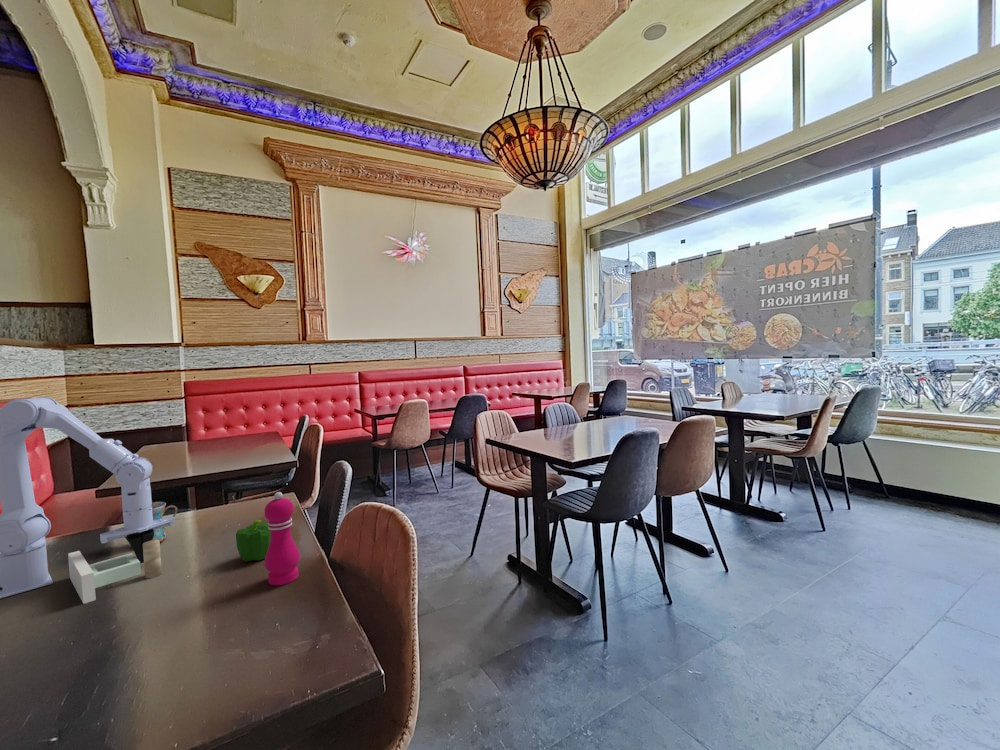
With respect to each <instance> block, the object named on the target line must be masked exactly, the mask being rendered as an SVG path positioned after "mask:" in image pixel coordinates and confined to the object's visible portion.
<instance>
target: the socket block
mask: <svg viewBox="0 0 1000 750" xmlns="http://www.w3.org/2000/svg"><path fill="white" fill-rule="evenodd" d="M88 565H89V566H90V568H91V569H92V571H93V572H94V582H95V589H97V588H98V589H99V588H101V587H104V586H108V585H110V584H113V583H117V582H120V581H124V580H126V579H129V578H133V577H137V576H139V575H140V576H141V575H142V569H141V568H142V567H141V566H142V565H141V564H140V561H139V560H138V559H137V558H136V555H135V554H133V553H132V552H130V553H126V554H123V555H120V556H115V557H113V558H109V559H105V560H101V561H98V562H95V563H91V564H88Z"/></svg>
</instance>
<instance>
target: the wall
mask: <svg viewBox="0 0 1000 750" xmlns="http://www.w3.org/2000/svg"><path fill="white" fill-rule="evenodd" d="M67 556H68V571H69V579H70V580H71V583H72V584H73V587H74V588H75V591H76V592H77V594H78V596H79V599H80V600H81V602H82V604H83V605H84V604H88V603H90V602H94V601H97V597H96V588H95V582H94V572H93V571H92V569H91V568H90V566H89V565H90V564H89V563H88V562H87V560H86V559H85V557H84V555H83V554H82V552H81V551H80V550H77V551H73V552H72V551H71V552H69V553H67Z"/></svg>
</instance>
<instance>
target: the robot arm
mask: <svg viewBox="0 0 1000 750" xmlns="http://www.w3.org/2000/svg"><path fill="white" fill-rule="evenodd" d="M37 428H41V429H42V428H43V429H55V430H58V431H59V432H62V433H63V434H64V435H66V436H67V437H69V438H70V439H72V440H73V441H75V442H77V443H79V444H81V445H82V446H83V447H85V448H87V449H88V454H89V458H91V459H92V460H94V461H95V462H96V463H98V464H99V465H100V466H101V467H104V469H106V470H108V471H109V472H110V473H112V474H113V475H114V474H115V475H114V478H115V481H116V482H117V484H118V485H120V486H121V503H122V505H121V507H122V517H123V527H120V528H116V529H113V530H110V531H107V532H104V533H100V534H99V536H100V537H99V539H100V540H99V541H100V543H101V544H107V543H108V542H112V541H114V540H119V539H120V540H121V539H123V538H124V539H125V540H126V541H127V542H128V544H130V545H131V546H130V547H131V549H132V550H133V552H134V556H135V557H136V558H137V559H138V560H139V561H140V565H141V564H144V556H143V543H145V542H147V541H151V540H152V539H153V537H154V532H153V530H155V529H159V528H163V527H165V528H167V527H173V526H175V525H176V519H175V517H173V516H169V517H164V518H163V517H162V519H157V520H153V513H152V502H153V500H152V488H151V479H150V476H151V475H152V474H153V470H154V466H153V464H152V463H151V461H149V459H148V458H146V457H140V456H139V454H137V453H132V452H131V450H129V449H127V448H126V447H124V446H123V445H122V444H123V442H122V441H121V440H119V439H116V440H115V439H114V438H102V437H101V436H100V435H99V434H97V433H96V432H95V431H94V430H92V429H91V428H90V427H89V426H87V424H85V423H84V422H83V421H81V420H80V419H79V418H77V416H76V415H74V414H73V413H71V412H70V410H69V409H68V408H67V407H66V406H65V405H63V404H61V403H58V401H57V400H56V399H54V398H52V397H49V396H38V397H31V398H16V399H12V400H10V401H8V402H6V403H5V404H4V405H3V406H2V407H0V506H1V512H0V513H1V514H0V599H4V598H7V597H10V596H14V595H18V594H22V593H24V592H27V591H32V590H35V589H39V588H43V587H46V586H50V585H52V584H53V583H54V582H53V579H52V577H51V574H50V573H49V566H48V555H47V554H48V553H47V541H46V536H47V535H49V533H50V532H51V528H52V523H51V521H50V519H49V518H48V517H47V516H46V515H45V512H44V508H43V507H42V506H41V505H39V504H38V503H37V502H36V499H35V492H34V486H33V481H32V480H33V479H32V475H31V473H32V472H31V469H30V463H29V457H28V449H27V445H26V438H27V437H28V436H30V435H31V433H33V432H34V431H35V430H37Z"/></svg>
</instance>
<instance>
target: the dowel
mask: <svg viewBox="0 0 1000 750" xmlns="http://www.w3.org/2000/svg"><path fill="white" fill-rule="evenodd" d="M143 556H144V563H143V567H144V568H143V569H144V579H153V578H156V577H160V576H161V575H162V574H163V573H162V571H163V570H162V559H161V558H162V557H161V542H160V541H159V540H151V541H147V542H145V543H143Z"/></svg>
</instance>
